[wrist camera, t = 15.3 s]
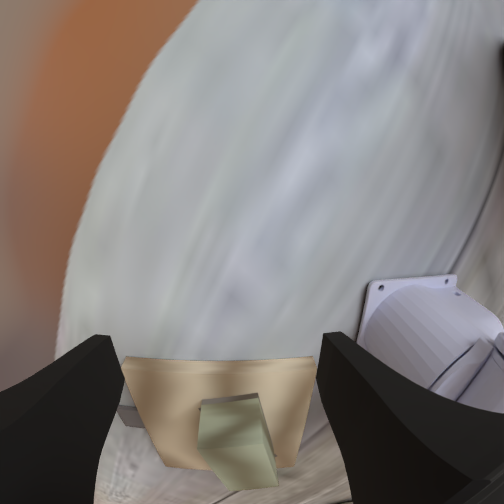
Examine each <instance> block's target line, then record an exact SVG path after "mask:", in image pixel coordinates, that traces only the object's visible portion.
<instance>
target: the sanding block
mask: <svg viewBox="0 0 504 504" xmlns="http://www.w3.org/2000/svg"><path fill="white" fill-rule="evenodd" d="M197 450H198V452H199V453H200V454H201V456H202V457H203V458H204V460H205V461H206V462H207V464H208V465H209V466H210V468H211V469H212V470H213V472H214V473H215V474H216V475H217V477H218V478H219V479H220V480H221V481H222V483H223V484H224V485H225V486H226V487H227V489H228V490H229V491H239V490H251V489H260V488H268V487H276V486H279V483H278V476H277V469H276V462H275V455H274V448H273V443H272V440H271V437H270V433H269V430H268V427H267V423H266V420H265V416H264V413H263V409H262V406H261V402H260V399H259V395H258V392H257V393H251V394H244V395H237V396H230V397H222V398H213V399H202V403H201V413H200V422H199V432H198V443H197Z"/></svg>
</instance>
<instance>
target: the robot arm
mask: <svg viewBox="0 0 504 504" xmlns="http://www.w3.org/2000/svg"><path fill="white" fill-rule="evenodd" d="M445 280H446V281H445ZM456 283H457V276H456V275H455V274H447V275H436V276H425V277H413V278H401V279H388V280H374V281H372V282H370V283H369V285H368V288H367V294H366V299H365V305H364V310H363V315H362V319H361V324H360V329H359V333H358V338H357V342H354V341H353V340H352V339H350V338H349V337H348V336H346V335H345V334H343V333H342V332H341V331H340V332H331V333H323V339H322V346H321V352H320V358H319V364H318V369H317V375H316V380H317V384H318V389H319V393H320V397H321V401H322V404H323V407H324V409H325V412H326V415H327V417H328V420H329V422H330V425H331V427H332V430H333V433H334V435H335V438H336V440H337V443H338V446H339V448H340V451H341V454H342V457H343V460H344V463H345V468H346V472H347V476H348V480H349V485H350V490H351V495H352V501H353V504H504V329H503V326H502V324H501V322H500V320H499V319H498V318H497V316H496V315H495V314H493V313H492V312H491V311H489V310H488V309H487V308H485V307H484V306H483V305H481V304H480V303H478V302H477V301H476V300H474V299H473V298H471V297H470V296H469V295H467V294H466V293H464V292H463V291H461V290H460V289H458V288H457V287H456ZM380 285H382V287H381V288H380V289H378V288H379V286H380ZM124 381H125V377H124V375H123V372H122V369H121V367H120V364H119V361H118V358H117V355H116V352H115V349H114V346H113V343H112V340H111V337H110V336H108V335H97V334H96V335H94V336H92V337H90V338H88V339H87V340H85V341H84V342H82V343H81V344H79V345H78V346H76V347H75V348H73V349H72V350H70V351H69V352H67V353H66V354H64V355H63V356H62V357H60V358H59V359H57V360H56V361H54V362H53V363H52V364H50V365H48V366H47V367H45V368H43V369H42V370H40V371H39V372H37V373H35V374H34V375H32V376H31V377H29V378H28V379H26V380H24V381H22V382H20V383H18V384H16V385H14V386H12V387H10V388H8V389H6V390H4V391H1V392H0V504H94V491H95V482H96V475H97V469H98V464H99V459H100V455H101V452H102V448H103V445H104V443H105V440H106V437H107V434H108V432H109V429H110V426H111V424H112V421H113V418H114V416H115V413H116V410H117V408H118V405H119V402H120V398H121V394H122V390H123V386H124Z"/></svg>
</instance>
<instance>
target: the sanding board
mask: <svg viewBox="0 0 504 504" xmlns="http://www.w3.org/2000/svg"><path fill="white" fill-rule="evenodd" d="M121 369H122V372H123V375H124V377H125V380H126V383H127V386H128V388H129V391H130V393H131V396H132V398H133V401H134V403H135V405H136V408H137V410H138V412H139V414H140V417H141V419H142V421H143V423H144V425H145V427H146V430H147V432H148V434H149V436H150V438H151V440H152V442H153V444H154V446H155V447H156V449H157V451H158V453H159V455H160V457H161V459H162V460H163V462H164V464H165V466H167V467H175V468H186V469H199V470H212V469H211V468H210V466H209V465H208V464H207V462H206V461H205V460H204V458H203V457H202V456H201V454H200V453H199V452H198V450H197V443H198V432H199V422H200V413H201V403H202V399H213V398H222V397H230V396H237V395H244V394H251V393H257V392H258V395H259V399H260V402H261V406H262V409H263V413H264V416H265V420H266V423H267V427H268V430H269V433H270V437H271V440H272V443H273V448H274V455H275V462H276V468H284V467H293V466H294V465H295V461H296V458H297V454H298V450H299V447H300V443H301V439H302V435H303V431H304V427H305V423H306V419H307V414H308V410H309V406H310V401H311V396H312V392H313V387H314V382H315V377H316V372H317V367H316V364H315V361H314V359H313V356H310V357H299V358H287V359H271V360H249V361H187V360H165V359H149V358H137V357H127V356H126V359H125V361H124V363H123V365H122V367H121Z"/></svg>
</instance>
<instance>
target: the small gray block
mask: <svg viewBox="0 0 504 504" xmlns="http://www.w3.org/2000/svg"><path fill="white" fill-rule="evenodd" d="M116 411H117V413H118V414H119V416H120V417H121V419H122V421H123V422H124V424H125V425H126V426H130V427H139V428H146V427H145V425H144V423H143V421H142V419H141V417H140V414H139V412H138V410H137V408H136V407H130V406H121V405H118V408H117V410H116Z"/></svg>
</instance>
